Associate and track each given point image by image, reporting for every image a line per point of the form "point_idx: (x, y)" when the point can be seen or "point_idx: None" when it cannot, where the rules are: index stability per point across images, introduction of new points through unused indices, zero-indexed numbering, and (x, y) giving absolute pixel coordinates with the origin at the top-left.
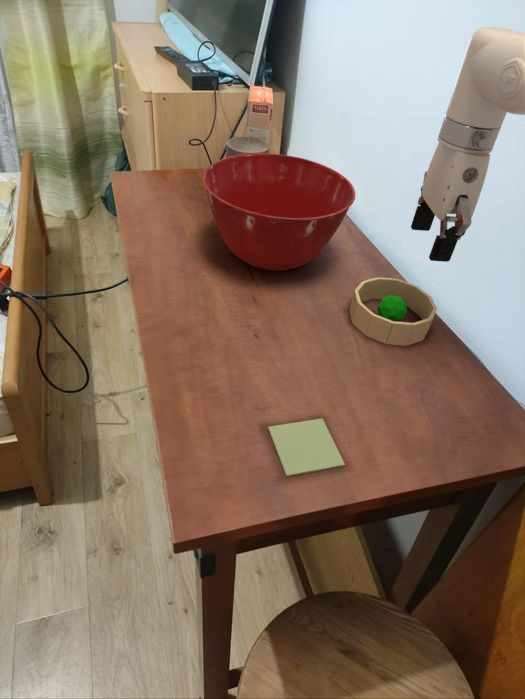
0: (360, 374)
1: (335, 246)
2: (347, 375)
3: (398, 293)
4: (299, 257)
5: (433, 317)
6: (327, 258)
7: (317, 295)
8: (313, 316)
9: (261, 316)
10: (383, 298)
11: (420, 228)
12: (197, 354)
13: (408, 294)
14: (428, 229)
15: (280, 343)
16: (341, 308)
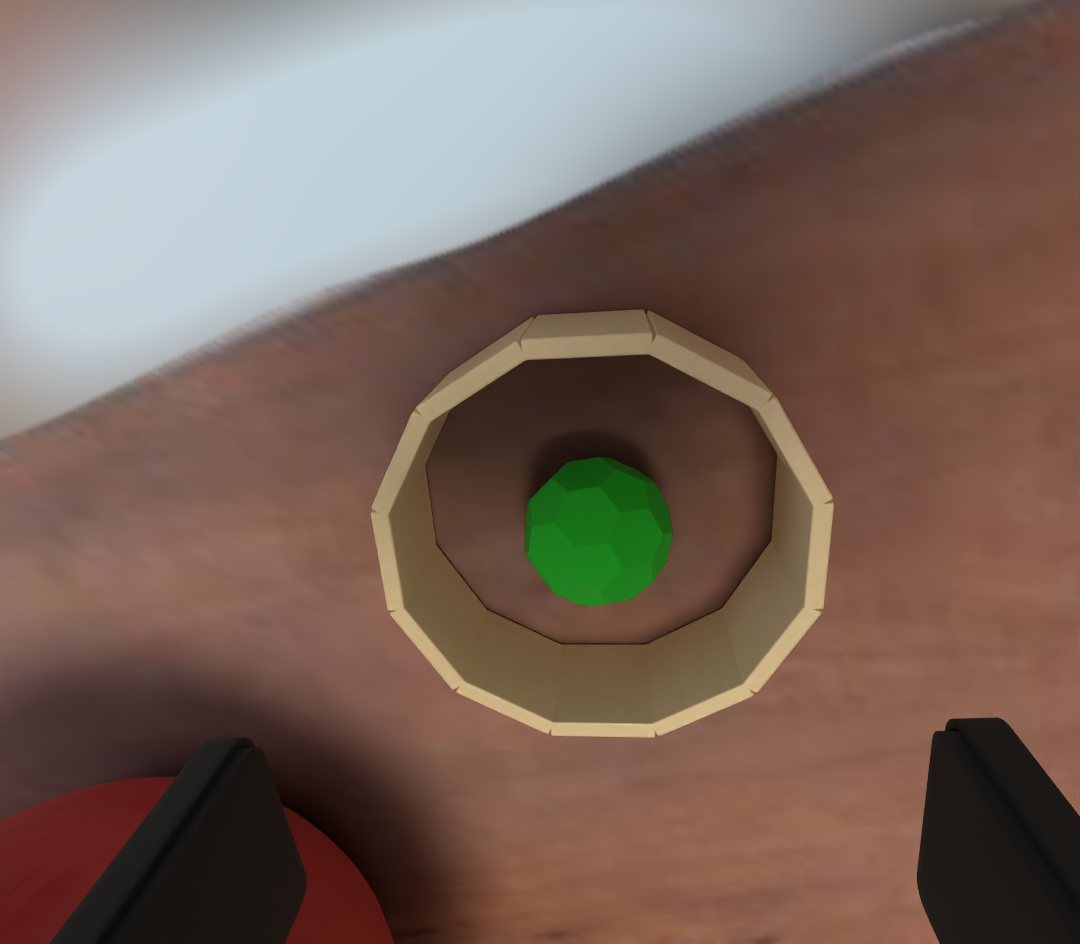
0: (988, 667)
1: (41, 648)
2: (991, 711)
3: (420, 462)
4: (367, 934)
5: (676, 337)
6: (166, 691)
7: (474, 754)
8: (623, 780)
9: (652, 923)
10: (563, 596)
11: (279, 842)
12: None
13: (436, 422)
14: (256, 764)
15: (802, 885)
16: None
